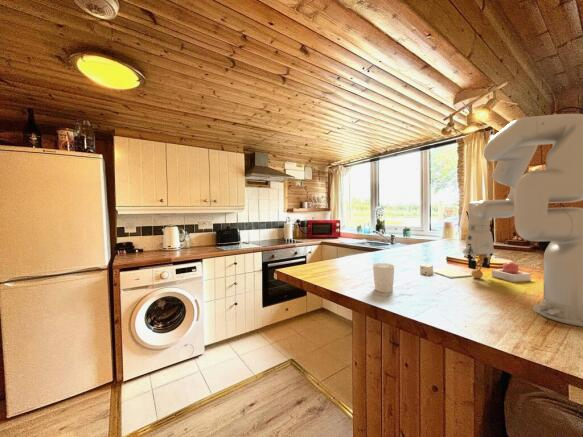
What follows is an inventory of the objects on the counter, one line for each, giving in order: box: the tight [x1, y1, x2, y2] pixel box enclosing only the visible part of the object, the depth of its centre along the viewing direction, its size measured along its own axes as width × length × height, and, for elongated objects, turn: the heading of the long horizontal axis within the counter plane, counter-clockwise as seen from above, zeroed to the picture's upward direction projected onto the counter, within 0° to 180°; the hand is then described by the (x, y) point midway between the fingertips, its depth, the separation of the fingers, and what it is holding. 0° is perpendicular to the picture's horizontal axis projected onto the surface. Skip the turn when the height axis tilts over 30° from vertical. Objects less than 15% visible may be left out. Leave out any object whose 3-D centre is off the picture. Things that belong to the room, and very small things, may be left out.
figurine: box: [471, 254, 489, 279], centre depth 106 cm, size 8×6×12 cm
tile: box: [433, 268, 473, 279], centre depth 114 cm, size 12×12×1 cm
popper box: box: [491, 268, 532, 283], centre depth 104 cm, size 9×9×3 cm
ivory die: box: [419, 264, 434, 276], centre depth 116 cm, size 4×4×4 cm
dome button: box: [502, 261, 519, 274], centre depth 104 cm, size 5×5×5 cm
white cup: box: [372, 262, 395, 294], centre depth 94 cm, size 8×8×10 cm
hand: (479, 267), depth 106 cm, fingers open, 6 cm apart
